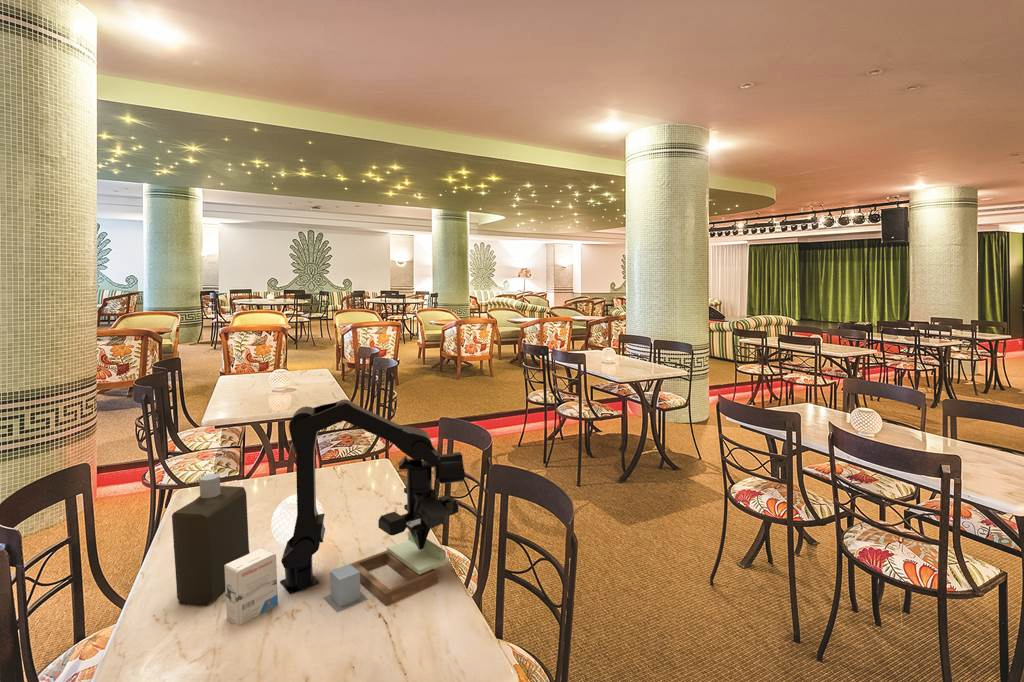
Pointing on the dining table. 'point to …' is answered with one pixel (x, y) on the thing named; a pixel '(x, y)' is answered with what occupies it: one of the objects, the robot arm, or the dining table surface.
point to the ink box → (250, 585)
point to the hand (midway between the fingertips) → (420, 548)
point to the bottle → (208, 540)
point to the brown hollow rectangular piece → (414, 579)
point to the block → (345, 585)
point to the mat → (338, 609)
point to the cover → (418, 555)
